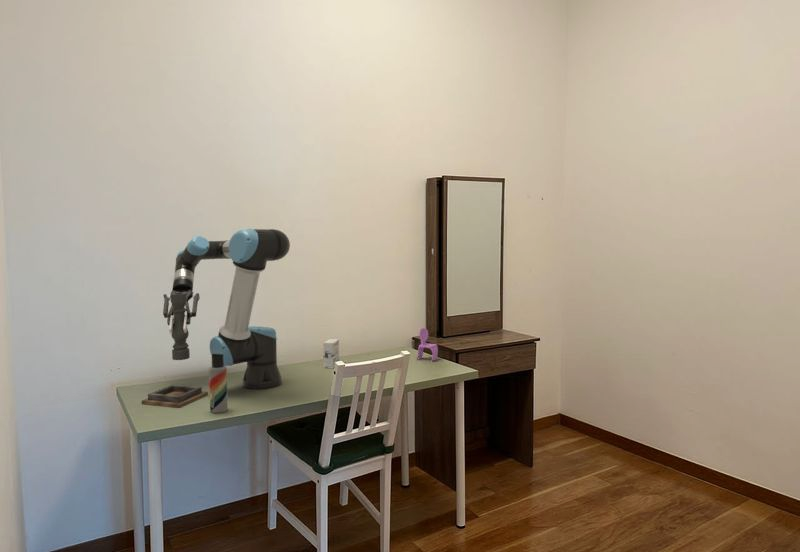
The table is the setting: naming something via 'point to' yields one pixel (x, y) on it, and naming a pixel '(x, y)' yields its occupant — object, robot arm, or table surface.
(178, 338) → the candle holder
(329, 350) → the ink box
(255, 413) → the table surface
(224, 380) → the lotion bottle
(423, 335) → the toy chair
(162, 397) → the socket plate
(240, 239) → the robot arm
